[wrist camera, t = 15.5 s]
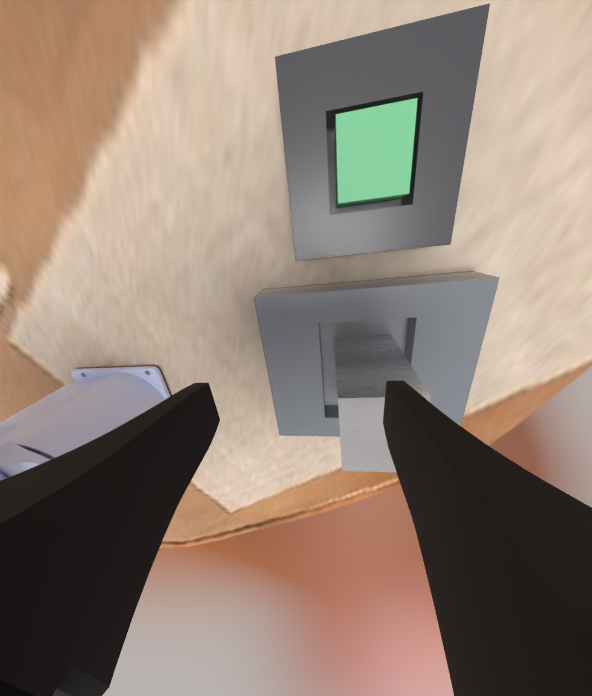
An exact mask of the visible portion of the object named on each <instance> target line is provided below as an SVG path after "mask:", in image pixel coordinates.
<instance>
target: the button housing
mask: <svg viewBox="0 0 592 696" xmlns="http://www.w3.org/2000/svg"><path fill="white" fill-rule="evenodd" d="M489 6H490V4H486V5H482V6H478V7H474V8H470V9H466V10H462V11H458V12H453V13H449V14H445V15H441V16H437V17H433V18H429V19H425V20H421V21H417V22H413V23H409V24H405V25H401V26H397V27H393V28H389V29H385V30H381V31H377V32H373V33H369V34H365V35H361V36H357V37H353V38H349V39H345V40H341V41H337V42H333V43H329V44H325V45H321V46H317V47H313V48H309V49H305V50H301V51H297V52H293V53H288V54H284V55H280V56H276V57H275V62H276V72H277V82H278V91H279V101H280V111H281V121H282V131H283V141H284V151H285V160H286V170H287V180H288V190H289V200H290V210H291V220H292V230H293V239H294V249H295V259H296V260H306V259H315V258H325V257H334V256H344V255H354V254H363V253H373V252H382V251H392V250H402V249H411V248H421V247H430V246H440V245H450V244H451V237H452V231H453V225H454V219H455V213H456V207H457V201H458V195H459V189H460V183H461V177H462V170H463V164H464V158H465V152H466V146H467V140H468V134H469V128H470V122H471V116H472V110H473V103H474V97H475V91H476V85H477V79H478V73H479V67H480V61H481V55H482V49H483V43H484V36H485V30H486V24H487V18H488V12H489ZM415 98H418V100H417V112H416V123H415V134H414V146H413V157H412V169H411V180H410V192H409V194H407V195H405V196H404V197H402V198H400V199H398V200H391V201H383V202H376V203H369V204H361V205H354V206H347V207H340V208H337V204H336V167H335V119H336V114H340V113H345V112H350V111H355V110H360V109H365V108H370V107H375V106H380V105H385V104H390V103H395V102H400V101H405V100H410V99H415Z"/></svg>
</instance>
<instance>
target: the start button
mask: <svg viewBox="0 0 592 696" xmlns="http://www.w3.org/2000/svg"><path fill="white" fill-rule="evenodd" d="M417 100H418V98H415V99H410V100H405V101H400V102H395V103H390V104H385V105H380V106H375V107H370V108H365V109H360V110H355V111H350V112H345V113H340V114H336V119H335V167H336V204H337V208H340V207H347V206H354V205H361V204H369V203H376V202H383V201H391V200H398V199H400V198H402V197H404V196H405V195H407V194H409V192H410V180H411V169H412V157H413V146H414V134H415V123H416V112H417Z"/></svg>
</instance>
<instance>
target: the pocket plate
mask: <svg viewBox="0 0 592 696" xmlns="http://www.w3.org/2000/svg"><path fill="white" fill-rule="evenodd" d="M498 281H499V278H498V277H494V276H490V275H486V274H482V273H478V272H474V271H472V272H460V273H449V274H437V275H426V276H414V277H402V278H391V279H379V280H367V281H356V282H344V283H333V284H321V285H309V286H298V287H286V288H274V289H263V290H262V291H261V292H260V293H259V294H258V295H256V296H255V297H254V301H255V307H256V312H257V317H258V323H259V328H260V333H261V339H262V344H263V349H264V355H265V360H266V366H267V371H268V376H269V382H270V387H271V392H272V398H273V403H274V408H275V414H276V419H277V425H278V430H279V435H286V436H340V426H339V410H338V394H337V377H336V361H335V345H334V338H345V337H360V336H374V335H389V334H391V335H392V336H393V338H394V339H395V341H396V342H397V344H398V346H399V347H400V349H401V350H402V352H403V353H404V355H405V356H406V358H407V360H408V361H409V363H410V364H411V366H412V367H413V369H414V370H415V372H416V374H417V375H418V377H419V378H420V380H421V381H422V383H423V384H424V386H425V388H426V389H427V391H428V392H429V394H430V395H431V399H430V403H431V404H433V405H434V406H435V407H436V408H438V409H439V410H440V411H441V412H443V413H444V414H445V415H446V416H448V417H449V418H450V419H452V420H453V421H454V422H456V423H457V424H458V425H460V426H461V422H462V419H463V415H464V411H465V407H466V403H467V400H468V396H469V392H470V388H471V384H472V380H473V377H474V373H475V369H476V365H477V361H478V358H479V354H480V350H481V346H482V342H483V339H484V335H485V331H486V327H487V323H488V320H489V316H490V312H491V308H492V304H493V300H494V297H495V293H496V289H497V285H498Z"/></svg>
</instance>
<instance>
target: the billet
mask: <svg viewBox="0 0 592 696" xmlns="http://www.w3.org/2000/svg"><path fill="white" fill-rule="evenodd" d="M334 345H335V361H336V377H337V394H338V410H339V426H340V441H341V457H342V471H369V472H396V469H395V466H394V463H393V460H392V457H391V454H390V451H389V448H388V444H387V440H386V435H385V430H384V426H383V414H384V403H385V392H386V381H405V382H406V383H407V384H409V385H410V386H411V387H412V388H413V389H415V390H416V391H417V392H418V393H419V394H421V395H422V396H423V397H424V398H425V399H427V400H428V401H429V402H430V399H431V395H430V394H429V392H428V391H427V389H426V388H425V386H424V384H423V383H422V381H421V380H420V378H419V377H418V375H417V374H416V372H415V370H414V369H413V367H412V366H411V364H410V363H409V361H408V360H407V358H406V356H405V355H404V353H403V352H402V350H401V349H400V347H399V346H398V344H397V342H396V341H395V339H394V338H393V336H392V335H391V334H389V335H374V336H360V337H345V338H334Z"/></svg>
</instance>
